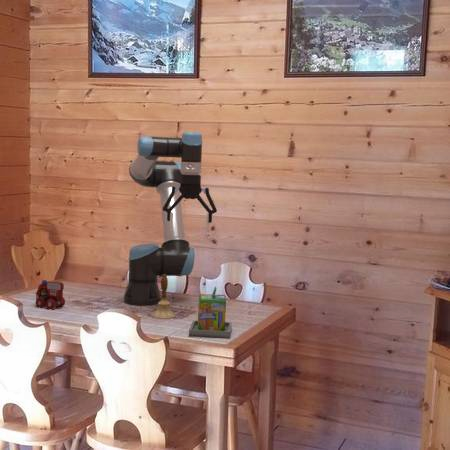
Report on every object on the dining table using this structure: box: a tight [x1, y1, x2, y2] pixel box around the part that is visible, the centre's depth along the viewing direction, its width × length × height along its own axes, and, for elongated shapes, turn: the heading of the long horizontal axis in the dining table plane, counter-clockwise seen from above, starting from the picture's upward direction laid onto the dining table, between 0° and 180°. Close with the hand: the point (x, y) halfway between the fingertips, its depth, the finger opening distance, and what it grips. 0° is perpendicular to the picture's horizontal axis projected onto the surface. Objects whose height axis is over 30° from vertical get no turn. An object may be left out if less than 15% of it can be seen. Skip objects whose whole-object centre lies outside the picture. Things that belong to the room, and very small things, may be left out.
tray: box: [188, 320, 233, 339], centre depth 233 cm, size 14×14×2 cm
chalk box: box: [197, 286, 227, 331], centre depth 233 cm, size 9×9×15 cm
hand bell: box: [152, 274, 175, 320], centre depth 253 cm, size 8×8×16 cm
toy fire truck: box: [35, 279, 66, 310], centre depth 263 cm, size 7×12×10 cm, turn 64°
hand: (189, 230), depth 257 cm, fingers open, 13 cm apart
